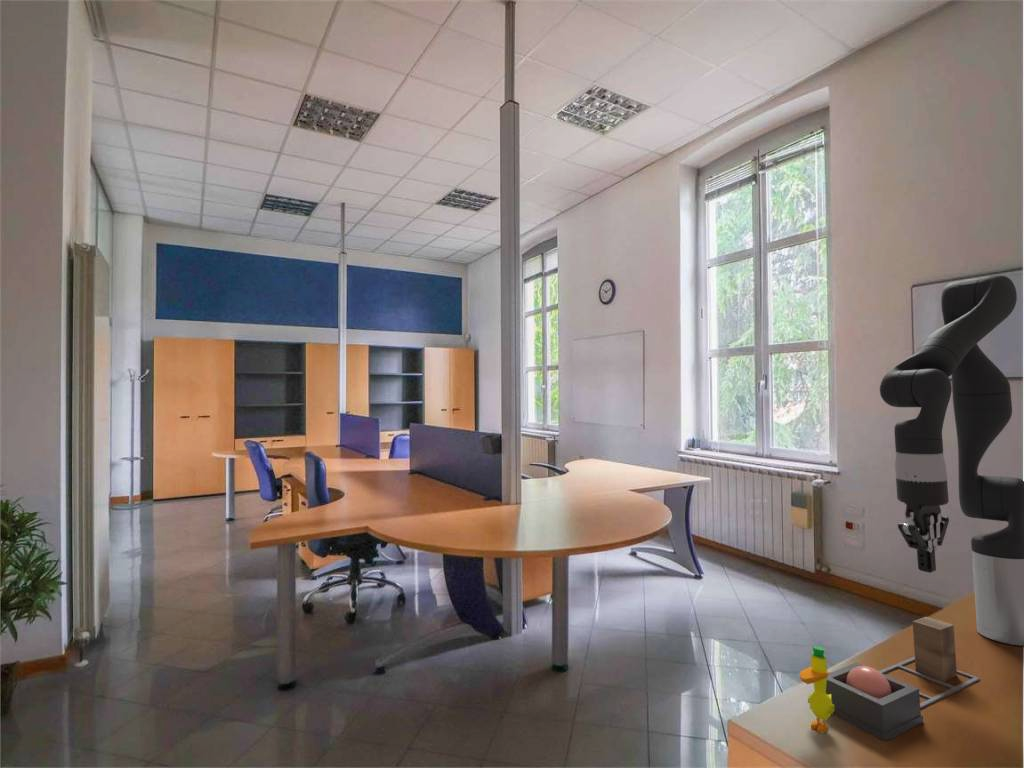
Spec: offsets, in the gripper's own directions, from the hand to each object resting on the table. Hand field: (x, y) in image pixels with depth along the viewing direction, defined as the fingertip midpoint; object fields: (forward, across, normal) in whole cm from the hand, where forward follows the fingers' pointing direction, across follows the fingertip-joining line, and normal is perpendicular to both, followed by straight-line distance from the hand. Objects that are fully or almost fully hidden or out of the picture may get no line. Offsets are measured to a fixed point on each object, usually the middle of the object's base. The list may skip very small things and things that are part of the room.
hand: (927, 570), depth 96 cm
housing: (+18, -24, -2) cm, 30 cm away
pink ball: (+17, -24, -2) cm, 29 cm away
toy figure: (+18, -34, 0) cm, 39 cm away
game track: (+18, -7, 0) cm, 20 cm away
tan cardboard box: (+18, 0, 0) cm, 18 cm away
